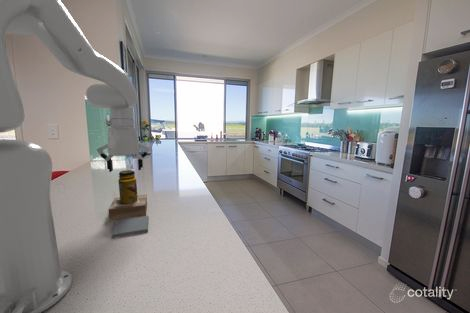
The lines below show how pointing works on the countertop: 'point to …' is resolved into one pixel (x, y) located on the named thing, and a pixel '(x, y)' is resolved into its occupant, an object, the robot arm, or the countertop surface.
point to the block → (128, 209)
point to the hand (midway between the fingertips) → (125, 170)
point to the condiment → (127, 189)
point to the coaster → (131, 226)
